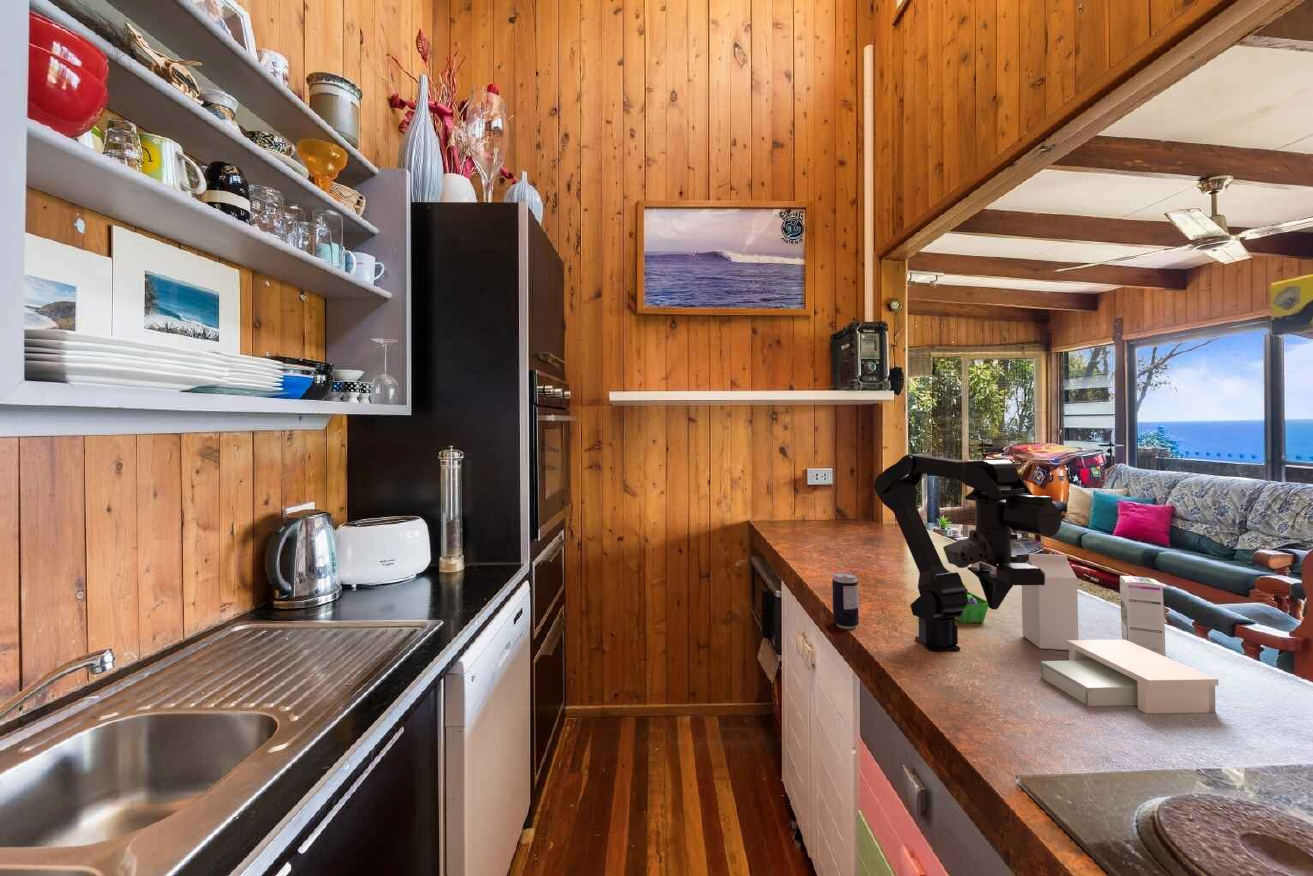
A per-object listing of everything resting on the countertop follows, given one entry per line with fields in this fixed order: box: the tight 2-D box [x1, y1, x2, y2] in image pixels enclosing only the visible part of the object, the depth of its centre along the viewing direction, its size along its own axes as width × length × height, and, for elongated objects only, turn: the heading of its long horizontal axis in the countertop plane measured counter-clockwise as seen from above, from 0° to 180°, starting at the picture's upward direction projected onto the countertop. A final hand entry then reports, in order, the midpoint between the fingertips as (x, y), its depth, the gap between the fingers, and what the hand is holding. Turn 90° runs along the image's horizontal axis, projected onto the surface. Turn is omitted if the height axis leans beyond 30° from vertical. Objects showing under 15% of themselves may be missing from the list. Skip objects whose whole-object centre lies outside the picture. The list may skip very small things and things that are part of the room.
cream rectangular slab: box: [1040, 660, 1138, 707], centre depth 88 cm, size 16×10×3 cm, turn 90°
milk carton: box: [1021, 553, 1079, 651], centre depth 108 cm, size 7×7×19 cm
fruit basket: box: [948, 570, 989, 624], centre depth 125 cm, size 11×9×11 cm
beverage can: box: [831, 571, 860, 630], centre depth 120 cm, size 6×6×12 cm
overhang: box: [1067, 638, 1219, 714], centre depth 88 cm, size 11×16×6 cm
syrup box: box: [1119, 575, 1167, 657], centre depth 104 cm, size 6×6×14 cm
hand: (993, 608), depth 96 cm, fingers closed
